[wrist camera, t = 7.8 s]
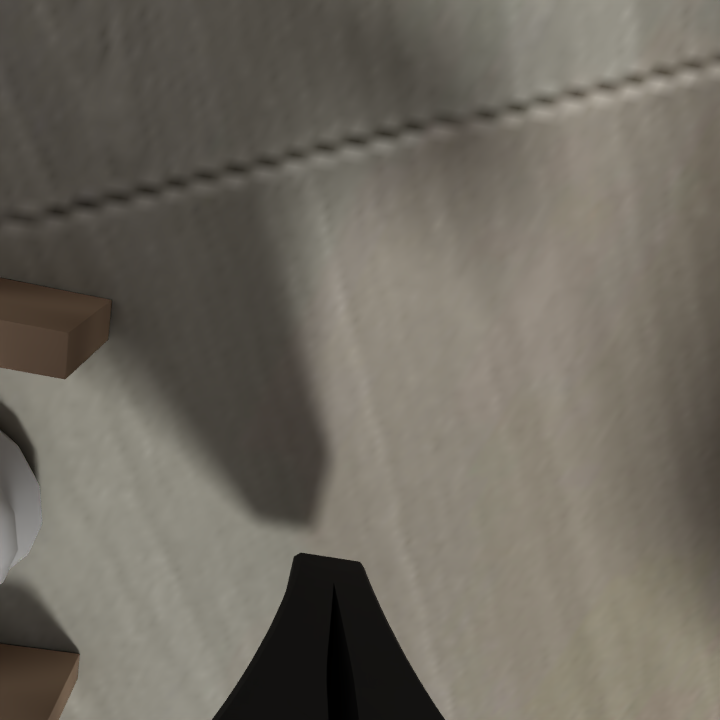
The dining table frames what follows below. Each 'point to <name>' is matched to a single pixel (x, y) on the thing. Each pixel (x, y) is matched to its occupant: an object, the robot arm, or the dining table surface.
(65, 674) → the bay
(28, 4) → the dining table surface
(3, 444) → the rook chess piece
